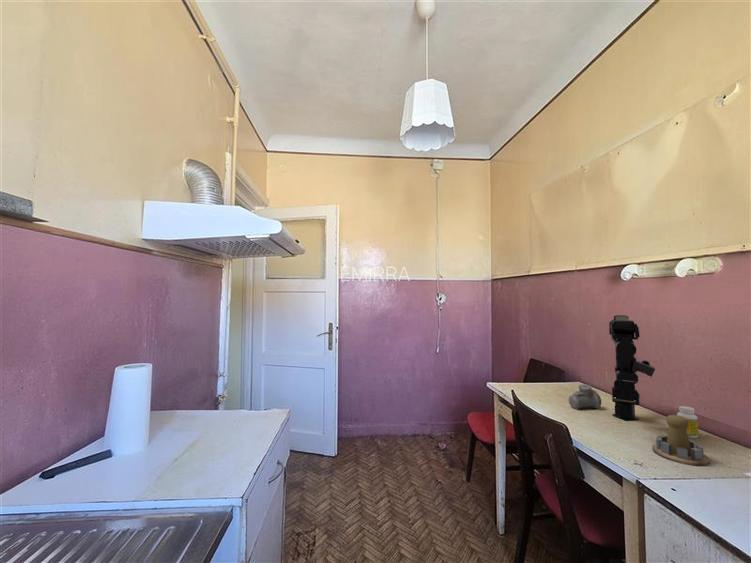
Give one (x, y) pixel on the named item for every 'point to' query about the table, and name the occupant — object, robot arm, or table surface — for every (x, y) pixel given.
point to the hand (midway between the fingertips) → (626, 395)
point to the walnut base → (679, 460)
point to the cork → (678, 433)
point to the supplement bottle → (689, 420)
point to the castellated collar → (680, 449)
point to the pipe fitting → (585, 398)
